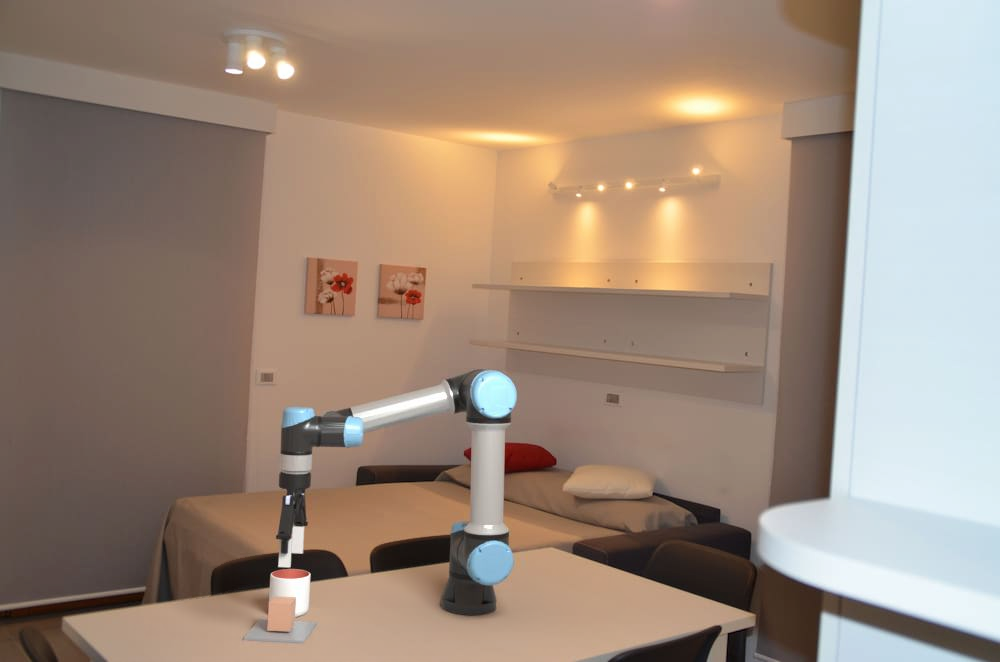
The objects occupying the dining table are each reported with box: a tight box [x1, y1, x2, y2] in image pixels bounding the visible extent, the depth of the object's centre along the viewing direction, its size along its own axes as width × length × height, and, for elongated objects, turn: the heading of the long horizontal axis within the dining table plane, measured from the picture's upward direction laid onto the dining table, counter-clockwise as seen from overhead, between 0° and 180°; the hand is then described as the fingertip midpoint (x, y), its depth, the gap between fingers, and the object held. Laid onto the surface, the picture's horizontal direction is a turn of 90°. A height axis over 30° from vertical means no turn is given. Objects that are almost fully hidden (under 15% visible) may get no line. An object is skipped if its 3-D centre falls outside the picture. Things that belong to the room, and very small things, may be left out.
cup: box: [268, 568, 312, 618], centre depth 222 cm, size 10×10×10 cm
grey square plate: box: [243, 618, 318, 644], centre depth 207 cm, size 14×14×7 cm
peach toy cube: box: [267, 596, 296, 632], centre depth 207 cm, size 5×5×7 cm
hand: (291, 559), depth 209 cm, fingers open, 13 cm apart
